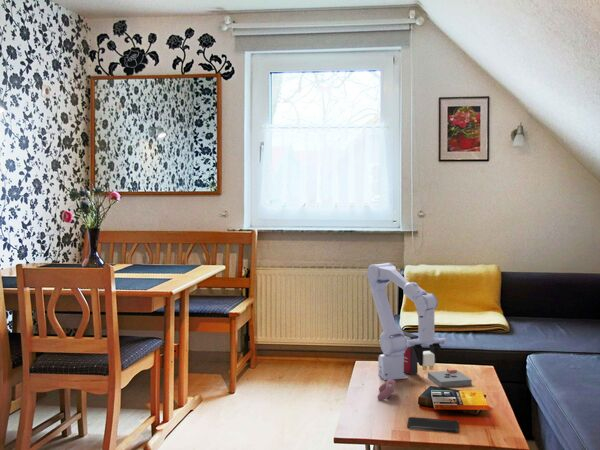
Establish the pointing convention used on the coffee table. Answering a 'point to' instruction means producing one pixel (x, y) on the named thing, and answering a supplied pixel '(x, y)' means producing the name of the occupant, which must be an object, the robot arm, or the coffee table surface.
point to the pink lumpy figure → (386, 389)
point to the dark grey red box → (410, 356)
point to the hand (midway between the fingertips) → (426, 364)
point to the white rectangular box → (428, 360)
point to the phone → (433, 424)
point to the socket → (449, 378)
